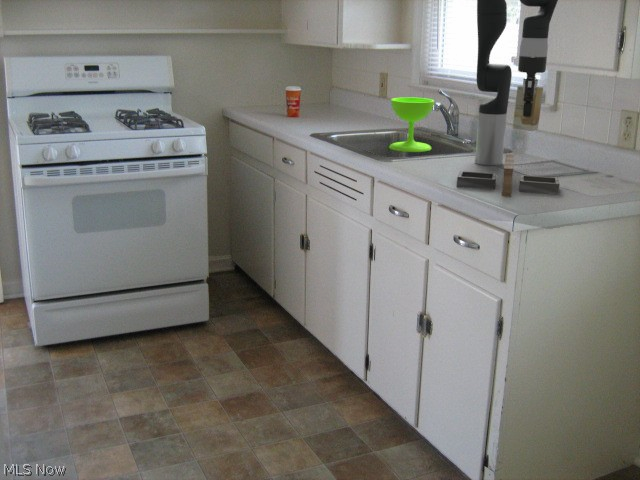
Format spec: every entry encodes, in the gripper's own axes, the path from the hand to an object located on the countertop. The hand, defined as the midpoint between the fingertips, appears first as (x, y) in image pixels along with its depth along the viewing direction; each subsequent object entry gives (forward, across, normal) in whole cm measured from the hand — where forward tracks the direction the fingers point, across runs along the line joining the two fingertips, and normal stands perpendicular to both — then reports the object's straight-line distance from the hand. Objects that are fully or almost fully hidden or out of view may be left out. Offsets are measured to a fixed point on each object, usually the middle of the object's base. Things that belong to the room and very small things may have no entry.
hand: (527, 114), depth 213 cm
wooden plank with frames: (+22, 0, -4) cm, 22 cm away
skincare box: (+4, 0, 0) cm, 4 cm away
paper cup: (+21, -117, -111) cm, 162 cm away
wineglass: (+22, -54, -43) cm, 72 cm away
